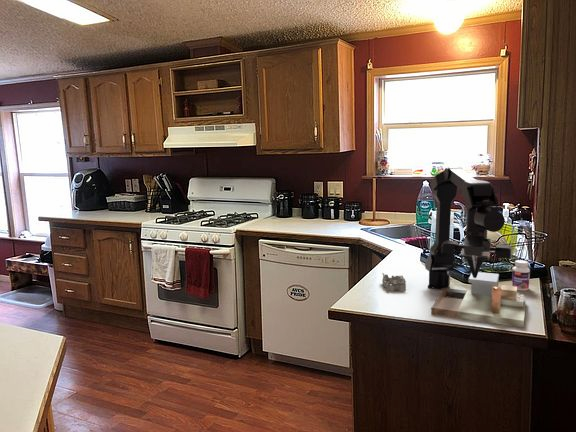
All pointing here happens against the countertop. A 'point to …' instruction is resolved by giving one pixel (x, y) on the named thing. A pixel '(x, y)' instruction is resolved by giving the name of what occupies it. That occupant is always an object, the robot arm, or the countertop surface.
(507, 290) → the maple block
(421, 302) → the countertop surface
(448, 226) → the robot arm
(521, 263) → the pill bottle
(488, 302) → the deck
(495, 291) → the sled
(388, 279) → the grey stone castle ruin
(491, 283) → the tunnel
